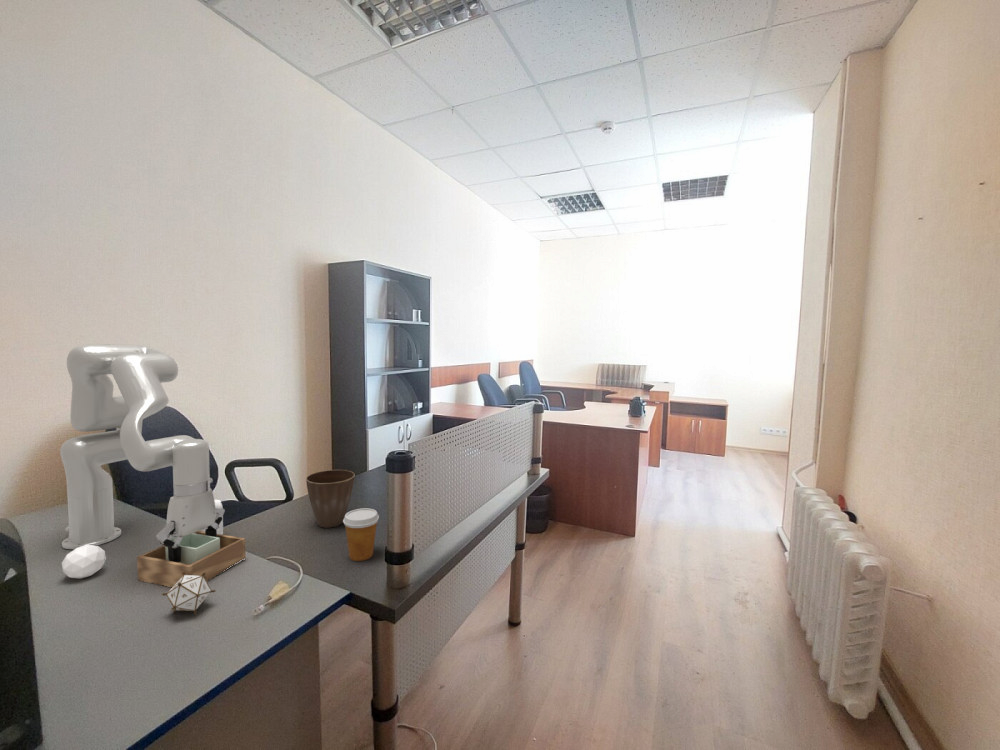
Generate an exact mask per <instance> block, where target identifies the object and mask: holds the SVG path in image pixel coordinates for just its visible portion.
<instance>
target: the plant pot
mask: <svg viewBox="0 0 1000 750" xmlns="http://www.w3.org/2000/svg"><path fill="white" fill-rule="evenodd" d="M355 476H356V475H355V473H354V472H353V471H351V470H347V469H329V470H322V471H316V472H314V473H310V474H309V475H307V476H306V477H305V481H306V489H307V492H308V493H307V494H308V499H309V503H310V506H311V509H312V512H313V515H314V517H315V519H316V522H317V525H318V526H319V527H321V528H325V529H326V528H335V527H337V526H340V525H341V524H343V523H344V522H343V519H344V518H345V515H346V513H347V511H348V508H349V504H350V501H351V497H352V494H353V488H354V482H355V478H356V477H355Z"/></svg>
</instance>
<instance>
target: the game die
mask: <svg viewBox="0 0 1000 750" xmlns="http://www.w3.org/2000/svg"><path fill="white" fill-rule="evenodd" d="M205 574H206V572H205V573H203V575H185V572H184V571H183V572H182V575H183V576H182V577H181V578H180V579H179V580H178V582H177V583H176V584H175V585H174V586H173V587H172V588H171V587H170V589H169V590H168V591H167V592H163V593H161V594H160V595H162V596H164V597H165V596H166V597H167V599H168V601H169V602H170V604H171V606H172V608H171V610H170V611H171V612H172V614H176V612H177V611H180V612H181V611H185V612H193V614H194V615H197V613H198V612H197V610H198V609H199V607H200V606H201V605H202V604H203V602H204V601H206V599H207V598H208V597H209V596H210V595H211V593H215V592H216V591H217V590H216V589H213V590H212V589H211V586H210V585H209V583H208V581H206V576H204V575H205Z"/></svg>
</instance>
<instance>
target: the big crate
mask: <svg viewBox="0 0 1000 750" xmlns="http://www.w3.org/2000/svg"><path fill="white" fill-rule="evenodd" d="M195 534H201V535H205V532H204V531H197V532H195ZM217 537H218V538H220V550H218V551H216V552H214V553H212V554H210V555H208V556H206V557H204V558H202V559H200V560H198V561H196V562H194V563H192V564H190V565H187V564H182V563H177V562H172V561H167V560H166V552H165V545H160V546H159V547H157V548H154V549H152V550H150V551H147V552H145V553H143V554H141V555H138V556H136V562H137V563H136V565H137V566H136V567H137V581H139V580H140V582H143V581H144V583H149V584H152V583H154V584H153V585H157V584H159V586H162V585H164V586H163V587H166V586H167V587H168V588H171V587H173V586H174V585H175V584H176V583H177V582H178V580H179V579H180V578H181V577H182V576H183V575H182V572H183V571H184V572H185V575H203V573H205V572H206V574H205V575H204V576H206V581H207V582H209V581H211V580H213V579H214V578H216V577H217V576H216V575H218V574H219V573H221V572H223V571H224V570H226V569H227V568H229V567H230V566H232V565H234V564H235V563H237V562H239V561H240V560H242V559H244V558H245V559H246V538H244V537H239V536H238V537H237V536H233V535H226V534H223V535H222V534H217ZM223 573H224V572H223ZM221 574H222V573H221ZM215 576H216V577H215ZM218 576H219V575H218ZM213 577H214V578H213ZM212 578H213V579H212ZM210 579H211V580H210ZM208 580H209V581H208Z"/></svg>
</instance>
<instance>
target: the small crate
mask: <svg viewBox="0 0 1000 750" xmlns="http://www.w3.org/2000/svg"><path fill="white" fill-rule="evenodd" d="M174 541H175V539H174ZM174 541H173V542H174ZM178 546H180V547H181V561H180V562H179V563H182V564H187V565H190V564H192V563H194V562H196V561H198V560H200V559H202V558H204V557H206V556H208V555H210V554H212V553H214V552H216V551H218V550H220V538H218V537H213V536H207V535H201V534H195V533H192V534H190V535H188V536H185V537H183V538H182V540H181V542H180V543H179V545H178ZM165 552H166V560H167V561H169V559H168V547H166V546H165Z"/></svg>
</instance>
